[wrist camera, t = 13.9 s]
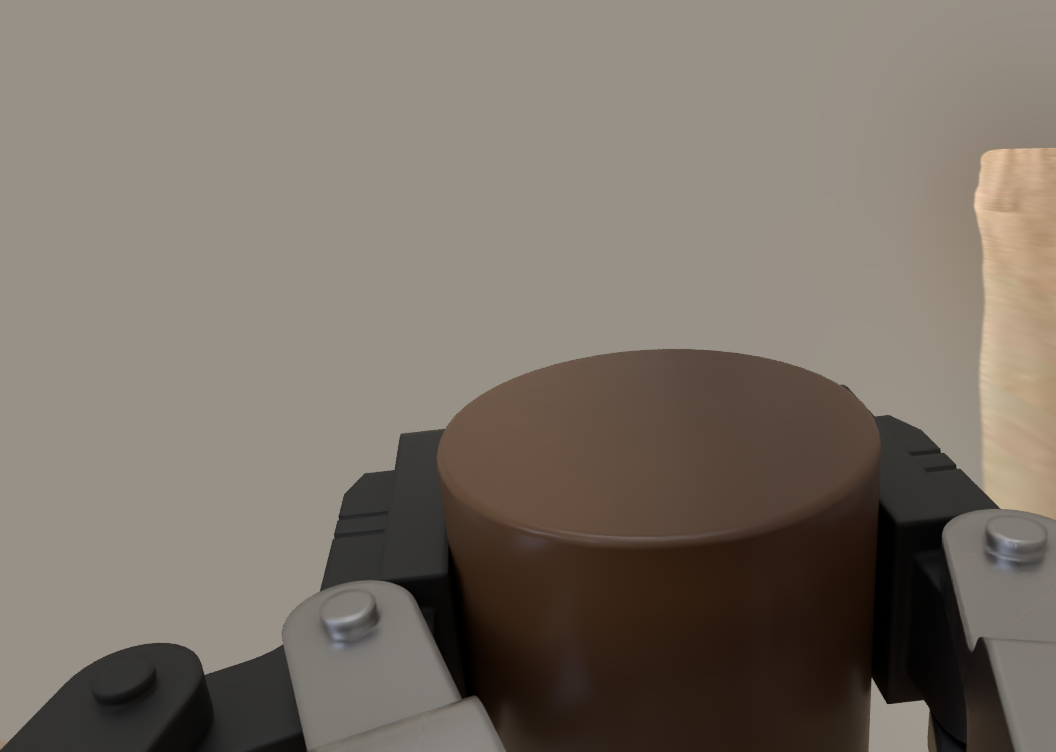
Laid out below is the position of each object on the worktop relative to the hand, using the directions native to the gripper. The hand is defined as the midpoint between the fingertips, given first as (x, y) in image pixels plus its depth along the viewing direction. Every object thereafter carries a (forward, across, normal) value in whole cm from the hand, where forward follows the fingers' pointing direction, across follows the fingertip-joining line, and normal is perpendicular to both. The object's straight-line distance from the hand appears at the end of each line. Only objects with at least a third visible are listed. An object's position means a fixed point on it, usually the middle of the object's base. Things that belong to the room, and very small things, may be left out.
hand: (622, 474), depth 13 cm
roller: (-3, 0, +8) cm, 8 cm away
